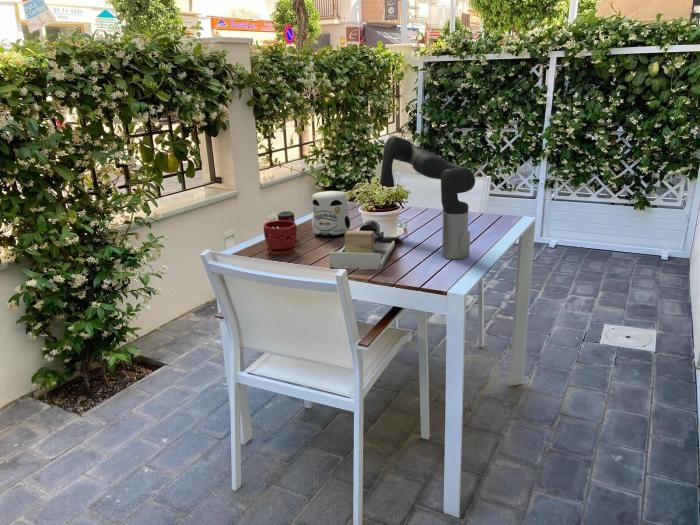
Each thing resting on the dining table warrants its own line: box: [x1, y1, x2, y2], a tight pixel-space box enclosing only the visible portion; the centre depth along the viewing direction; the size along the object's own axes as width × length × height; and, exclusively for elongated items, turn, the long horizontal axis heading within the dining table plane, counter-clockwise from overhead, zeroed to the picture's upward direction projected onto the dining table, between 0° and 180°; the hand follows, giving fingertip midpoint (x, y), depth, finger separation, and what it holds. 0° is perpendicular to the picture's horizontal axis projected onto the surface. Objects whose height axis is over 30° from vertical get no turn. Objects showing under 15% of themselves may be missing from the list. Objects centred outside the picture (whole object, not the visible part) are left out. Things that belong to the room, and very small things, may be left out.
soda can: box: [277, 210, 296, 228], centre depth 233 cm, size 7×7×12 cm
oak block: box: [343, 230, 374, 253], centre depth 201 cm, size 5×10×10 cm, turn 76°
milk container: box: [311, 190, 352, 238], centre depth 239 cm, size 17×17×18 cm
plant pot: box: [263, 219, 298, 256], centre depth 217 cm, size 13×13×12 cm
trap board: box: [328, 240, 396, 271], centre depth 208 cm, size 30×19×6 cm, turn 166°
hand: (361, 242), depth 203 cm, fingers open, 8 cm apart
